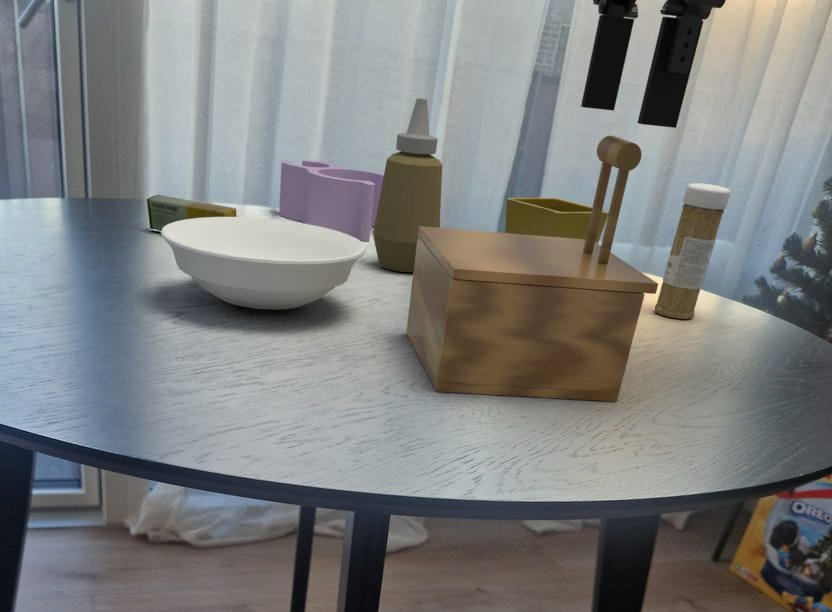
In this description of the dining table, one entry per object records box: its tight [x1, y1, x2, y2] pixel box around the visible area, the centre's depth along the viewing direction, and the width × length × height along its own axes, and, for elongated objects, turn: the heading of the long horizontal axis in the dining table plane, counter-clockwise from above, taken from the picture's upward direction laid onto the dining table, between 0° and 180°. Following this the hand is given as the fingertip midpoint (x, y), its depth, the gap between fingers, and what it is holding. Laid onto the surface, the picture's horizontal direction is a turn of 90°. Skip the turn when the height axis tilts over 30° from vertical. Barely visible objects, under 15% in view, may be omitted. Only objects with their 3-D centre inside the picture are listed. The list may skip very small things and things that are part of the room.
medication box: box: [146, 194, 238, 231], centre depth 115 cm, size 12×3×4 cm, turn 63°
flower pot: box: [504, 197, 609, 244], centre depth 110 cm, size 9×9×9 cm
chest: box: [405, 236, 645, 403], centre depth 81 cm, size 16×17×9 cm
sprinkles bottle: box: [654, 182, 731, 320], centre depth 102 cm, size 5×5×13 cm
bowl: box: [160, 216, 367, 311], centre depth 91 cm, size 20×20×6 cm
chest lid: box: [418, 135, 659, 295], centre depth 76 cm, size 16×17×10 cm
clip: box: [278, 159, 384, 242], centre depth 131 cm, size 20×12×7 cm, turn 43°
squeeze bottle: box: [372, 97, 443, 273], centre depth 108 cm, size 8×8×18 cm
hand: (624, 117), depth 73 cm, fingers open, 13 cm apart
